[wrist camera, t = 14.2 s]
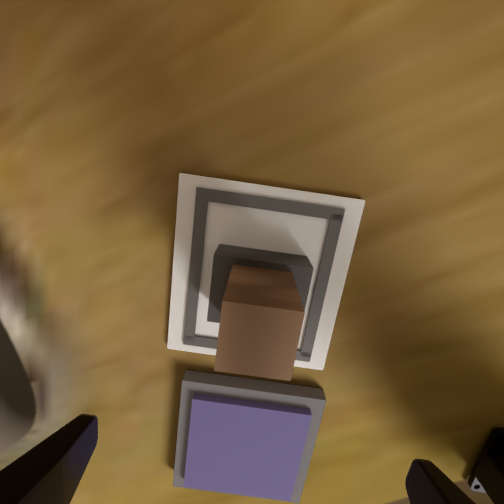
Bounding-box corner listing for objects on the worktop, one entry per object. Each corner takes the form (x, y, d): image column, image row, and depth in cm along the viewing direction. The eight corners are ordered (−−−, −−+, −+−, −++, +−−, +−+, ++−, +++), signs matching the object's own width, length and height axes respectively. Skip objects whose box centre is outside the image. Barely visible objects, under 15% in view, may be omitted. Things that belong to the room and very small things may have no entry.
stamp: (307, 255, 20) (334, 306, 12) (295, 314, 21) (313, 392, 14) (219, 243, 19) (195, 287, 12) (212, 303, 21) (187, 375, 13)
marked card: (363, 199, 19) (366, 200, 18) (321, 366, 22) (323, 372, 22) (180, 172, 19) (178, 172, 18) (168, 345, 22) (166, 350, 22)
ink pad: (322, 388, 23) (327, 406, 21) (297, 488, 26) (300, 511, 24) (186, 369, 23) (179, 386, 21) (176, 472, 26) (170, 493, 24)
